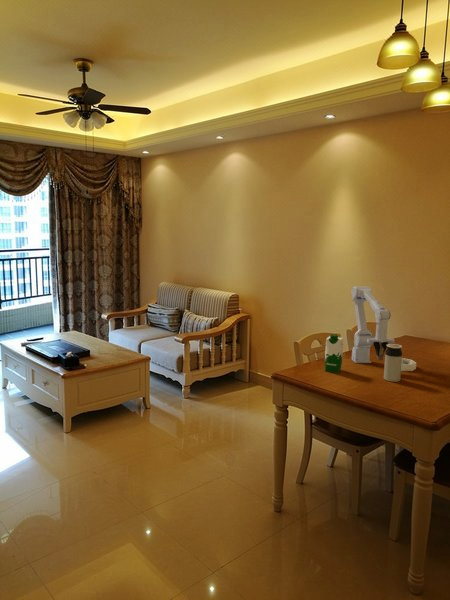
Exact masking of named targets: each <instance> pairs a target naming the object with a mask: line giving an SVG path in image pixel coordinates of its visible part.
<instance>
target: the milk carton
mask: <svg viewBox="0 0 450 600" xmlns="http://www.w3.org/2000/svg"><path fill="white" fill-rule="evenodd" d="M343 349H344V337H340V336H339V335H338V334H330V335H329V336H328V337H326V339H325V351H324V352H325V353H324V354H325V355H324V372H328V373H334V374H339V373H340V372H341V370H342V365H343V353H344V352H343Z"/></svg>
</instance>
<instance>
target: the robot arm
mask: <svg viewBox="0 0 450 600" xmlns="http://www.w3.org/2000/svg"><path fill="white" fill-rule="evenodd" d="M350 293H351V298H352V302H353V306H354V311H355V317H356V318H355V319H356V327H357V331H356V332H355V333H354V338H353V339H354V340H353V343H354V345H355V346H353V347H352V351H351V361H352V362H354V363H356V364H371V363H372V362H373V361H371V360H370V351H371V347H372V346H373V347H374V350H375V355H376V356H379V349H380V346H382V347H383V348H384V351H383V357H385V353H386V350H387V344H395V341H396V340H395V338H389V337H388V326H389V325H388V324H389V321H390V319H391V318H392V317H391V316H392V314H391V310H390V309H389V308H385V307H384V305H383V304H382V303H381V302H380V301H379V300H376V298H375V297H374V295H373V292H372V288H371V287H370V286H369V285H367V286H356V285H355V286H353V287H352V289H351V292H350ZM365 302H368V303H369V305H370V306H369V307H370V309H371V310H372V312H374V317H375V323H376V327H375V337H373V334H372V332H371V331H370V330H369V329H368V325H367V319H366V313H365V306H364V303H365Z"/></svg>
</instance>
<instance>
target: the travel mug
mask: <svg viewBox="0 0 450 600" xmlns="http://www.w3.org/2000/svg"><path fill="white" fill-rule="evenodd" d="M402 348H403V346H402V345H401V344H398V343H397V344H396V343H388V344H387V348H386V350H385V352H384V367H383V368H384V369H383V370H384V371H383V379H384V380H385V381H387V382H391V383H393V382H394V383H397V382H400V381H401V374H402V371H401V362H402V358H403V352H402Z"/></svg>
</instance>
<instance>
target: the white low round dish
mask: <svg viewBox="0 0 450 600" xmlns="http://www.w3.org/2000/svg"><path fill="white" fill-rule="evenodd" d="M416 369H417V362H416V361H415V360H413V359H410V358H409V359H408V358H404V357H402V362H401V372H413V371H414V370H416Z"/></svg>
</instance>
